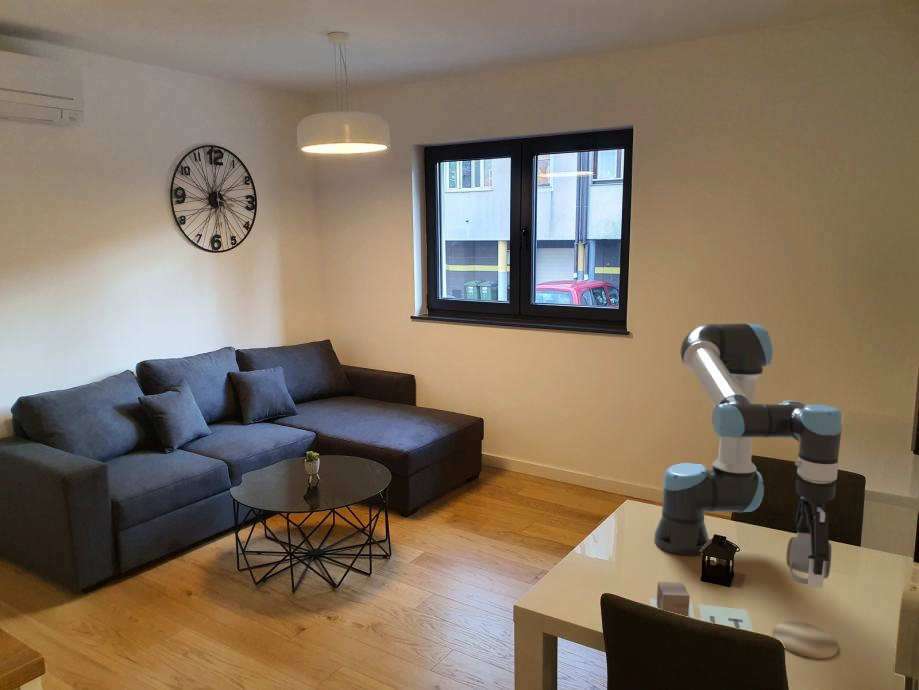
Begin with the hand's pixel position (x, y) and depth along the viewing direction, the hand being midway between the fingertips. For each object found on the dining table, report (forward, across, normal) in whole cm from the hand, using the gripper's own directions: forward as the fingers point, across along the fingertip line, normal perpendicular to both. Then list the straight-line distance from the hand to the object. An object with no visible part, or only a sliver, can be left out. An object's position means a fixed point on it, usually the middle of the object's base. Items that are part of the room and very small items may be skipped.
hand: (808, 573), depth 148 cm
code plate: (+16, -3, -16) cm, 23 cm away
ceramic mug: (0, 0, 0) cm, 1 cm away
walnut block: (+16, -5, -28) cm, 32 cm away
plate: (+16, -5, -28) cm, 32 cm away
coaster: (+16, 0, +1) cm, 16 cm away
